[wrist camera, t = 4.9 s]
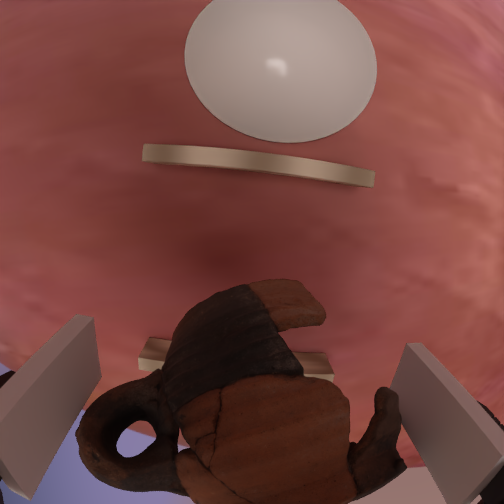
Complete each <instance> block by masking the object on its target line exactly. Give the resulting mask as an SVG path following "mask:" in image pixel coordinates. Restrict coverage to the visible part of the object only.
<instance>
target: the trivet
mask: <svg viewBox="0 0 504 504" xmlns="http://www.w3.org/2000/svg"><path fill="white" fill-rule="evenodd" d="M184 55H185V67H186V72H187V76H188V79H189V81H190V84H191V86H192V88H193V90H194V92H195V94H196V95H197V97H198V98H199V100H200V101H201V102H202V104H203V105H204V106H205V107H206V108H207V109H208V110H209V111H210V112H211V113H212V114H213V115H214V116H215V117H216V118H218V119H219V120H220V121H222V122H223V123H224V124H226V125H228V126H229V127H231V128H233V129H234V130H236V131H239V132H241V133H243V134H245V135H248V136H251V137H254V138H257V139H261V140H266V141H271V142H280V143H301V142H307V141H313V140H317V139H320V138H324V137H327V136H329V135H331V134H333V133H336V132H338V131H339V130H341V129H343V128H344V127H346V126H347V125H349V124H350V123H351V122H352V121H353V120H355V119H356V118H357V117H358V116H359V114H360V113H361V112H362V111H363V110H364V108H365V107H366V105H367V104H368V102H369V100H370V98H371V96H372V94H373V91H374V87H375V83H376V77H377V62H376V56H375V51H374V48H373V45H372V42H371V40H370V38H369V36H368V34H367V32H366V30H365V29H364V27H363V26H362V24H361V23H360V21H359V20H358V19H357V18H356V17H355V16H354V15H353V13H352V12H350V11H349V10H348V9H347V8H346V7H345V6H344V5H342V4H341V3H340V2H338V1H337V0H213V1H212V2H211V3H210V4H208V5H207V6H206V7H205V8H204V9H203V10H202V12H201V13H200V14H199V15H198V17H197V18H196V20H195V21H194V23H193V24H192V27H191V29H190V31H189V33H188V37H187V40H186V44H185V52H184Z"/></svg>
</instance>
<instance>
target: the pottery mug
mask: <svg viewBox="0 0 504 504" xmlns="http://www.w3.org/2000/svg"><path fill="white" fill-rule="evenodd" d="M325 318H326V312H325V310H324V308H323V307H322V305H321V304H320V303H319V302H318V301H317V300H316V299H315V298H314V297H313V296H312V295H311V293H310V292H309V291H308V290H306V288H305V287H304V285H303V284H302V283H301V282H299V281H297V280H288V279H275V280H270V279H269V280H263V281H258V282H252V283H250V284H243V285H239V286H236V287H233V288H230V289H228V290H225V291H222V292H218V293H215V294H214V295H212V296H211V297H209V298H208V299H206V300H204V301H202V302H200V303H198V304H197V305H196V306H194V307H193V308H191V309H190V310H189V311H188V312H187V313H186V314H185V316H184V317H183V319H182V320H181V321H180V322H179V324H178V326H177V327H176V329H175V331H174V333H173V337H172V342H171V344H170V347H169V350H168V352H167V354H166V358H165V363H164V364H163V365H162V368H161V369H159V368H158V369H156V370H155V371H153V372H152V373H151V374H150V375H149V376H147V377H145V378H142V379H139V380H134V381H131V382H128V383H125V384H122V385H119V386H117V387H115V388H113V389H111V390H109V391H107V392H106V393H104V394H102V395H101V396H100V397H98V398H97V399H96V400H95V401H94V402H93V403H92V404H91V405H90V406H89V408H88V409H87V410H86V412H85V413H84V415H83V416H82V419H81V421H80V425H79V427H78V429H77V430H76V432H75V436H76V437H77V438H76V439H77V442H78V445H79V455H80V457H81V460H82V462H83V464H84V465H85V466H86V468H87V469H88V470H89V471H90V472H91V473H92V474H93V476H95V478H97V479H98V480H100V481H102V482H104V483H106V484H108V485H110V486H112V487H115V488H118V489H122V490H127V491H133V492H147V491H167V492H172V493H175V494H178V495H182V496H188V497H190V498H191V499H192V501H193V502H194V503H195V504H348V503H350V502H351V501H354V500H358V499H360V498H362V497H365V496H367V495H369V494H371V493H373V492H374V491H376V490H378V489H380V488H381V487H383V486H385V485H386V484H387V483H389V482H390V481H392V480H393V479H395V478H396V477H397V476H399V475H400V474H401V473H403V472H404V471H405V470H406V469H407V466H406V465H405V463H404V460H403V459H402V458H401V457H400V455H399V453H398V451H397V450H396V443H397V439H398V436H399V433H400V430H401V421H402V417H401V414H400V412H399V396H398V394H397V393H396V392H394V391H393V390H391V389H389V388H387V387H381V388H379V389H378V390H377V392H376V394H375V398H374V403H375V405H374V407H375V414H374V415H373V417H372V418H371V421H370V423H369V426H368V428H367V430H366V432H365V434H364V435H363V437H362V438H361V440H360V441H359V442H358V443H357V444H356V443H355V442H349V433H350V404H349V400H348V399H347V397H345V396H344V395H343V393H342V392H341V390H340V389H339V388H338V387H337V386H336V385H334V384H333V383H332V382H331V381H329V380H326V379H321V378H316V377H306V376H304V368H303V367H302V365H301V364H300V362H299V361H298V359H297V358H296V357H295V355H294V354H293V353H292V351H291V350H290V349H289V348H288V346H287V345H286V343H285V341H284V340H283V338H282V337H281V336H280V335H279V334H278V332H282V331H286V330H288V329H290V328H299V327H306V326H320V325H322V324H323V322H324V321H325ZM139 420H141V421H147V422H149V423H150V424H151V425H152V427H153V429H154V431H155V433H156V435H157V437H156V440H155V441H154V442H153V443H152V444H151V445H150V446H148V447H147V449H145V450H144V451H143V452H142V453H140V454H139V455H136V456H134V457H127V458H126V457H123V456H122V455H121V454H119V453H118V451H117V447H116V444H117V441H118V438H119V437H120V435H121V433H122V432H123V431H124V430H125V429H126V428H127V427H128V426H130V425H131V424H133V423H134V422H136V421H139ZM179 427H180V429H181V432H182V435H183V437H184V439H185V440H186V442H187V443H188V444H189V445H190V448H187V449H183V450H181V451H180V452H179V453H178V446H177V442H178V436H179Z"/></svg>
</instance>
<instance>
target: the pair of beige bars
mask: <svg viewBox="0 0 504 504" xmlns="http://www.w3.org/2000/svg"><path fill="white" fill-rule="evenodd" d="M142 161H144V162H149V163H155V164H170V165H185V166H199V167H211V168H222V169H233V170H242V171H252V172H260V173H269V174H277V175H285V176H292V177H299V178H306V179H313V180H319V181H326V182H332V183H338V184H344V185H350V186H355V187H369V188H373V186H374V178H375V171H372V170H368V169H363V168H358V167H353V166H347V165H342V164H336V163H331V162H325V161H319V160H313V159H307V158H300V157H293V156H286V155H279V154H271V153H263V152H254V151H245V150H236V149H225V148H214V147H201V146H185V145H166V144H144V146H143V154H142ZM171 342H172V341H170V340H163V339H156V338H150V337H149V339H148V341H147V342H146V344H145V346H144V348H143V350H142V351H141V353H140V355H139V357H138V361H139V369H140V370H146V371H152V372H153V371H155V370H156V369H158V368H159V369H161V368H162V365H163V364H164V363H165V358H166V354H167V352H168V350H169V347H170V344H171ZM292 353H293V354H294V355H295V357H296V358H297V359H298V361H299V362H300V364H301V365H302V367H303V368H304V376H306V377H316V378H321V379H326V380H329V381H331V382H333V378H334V375H335V374H334V372H333V370H332V367H331V365H330V363H329V361H328V359H327V357H326V354H325V353H301V352H292Z"/></svg>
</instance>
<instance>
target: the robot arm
mask: <svg viewBox="0 0 504 504" xmlns="http://www.w3.org/2000/svg"><path fill="white" fill-rule="evenodd" d="M101 377H102V376H101V370H100V364H99V357H98V350H97V342H96V334H95V325H94V317H89V316H84V315H79V314H76V315H75V316H74V317H73V318H72V319H71V320H69V321H68V322H67V323H66V324H65V325H64V326H63V327H62V328H61V329H60V330H59V331H58V332H57V333H56V334H54V335H53V336H52V337H51V338H50V339H49V340H48V341H47V342H46V343H45V344H44V345H43V346H42V347H41V348H40V349H39V350H38V351H37V352H36V353H35V354H34V355H33V356H32V357H31V358H30V359H29V360H28V361H27V362H26V363H25V364H24V365H23V366H22V367H21V368H20V369H19V370H18V371H17V372H14V371H9V372H7V373H5V374H3V375H1V376H0V481H1V479H2V480H3V481H4V482H5V484H6V485H7V486H8V488H9V489H10V490H12V491H13V492H15V493H17V494H19V495H21V496H23V497H25V498H26V499H28V500H31V499H32V497H33V495H34V493H35V491H36V490H37V487H38V486H39V484H40V482H41V480H42V478H43V476H44V474H45V473H46V471H47V469H48V467H49V465H50V463H51V461H52V460H53V458H54V456H55V454H56V453H57V451H58V449H59V447H60V446H61V444H62V442H63V440H64V439H65V437H66V435H67V433H68V431H69V430H70V428H71V426H72V425H73V423H74V421H75V420H76V418H77V416H78V415H79V413H80V411H81V410H82V408H83V406H84V405H85V403H86V401H87V400H88V398H89V397H90V395H91V393H92V392H93V390H94V389H95V387H96V385H97V384H98V382H99V381H100V379H101ZM389 389H391V390H393V391H394V392H396V393H397V394H398V396H399V412H400V414H401V417H402V421H401V423H402V425H403V427H404V428H405V430H406V432H407V433H408V435H409V437H410V439H411V440H412V442H413V444H414V445H415V447H416V449H417V451H418V452H419V454H420V456H421V458H422V459H423V461H424V463H425V465H426V466H427V468H428V470H429V472H430V473H431V475H432V477H433V479H434V481H435V482H436V484H437V486H438V488H439V490H440V491H441V493H442V495H443V497H444V499H445V501H446V502H447V504H470V503H471V502H472V501H473V500H474V499H475V498H476V497H477V496H478V495H479V494H480V496H481V497H482V499H481V500H480V501H479V502H478V503H477V504H504V426H503V425H502V424H500V421H499V420H498V419H497V418H496V417H494V414H493V413H492V412H491V411H490V410H489V409H488V408H487V407H486V406H484V405H483V404H481V403H480V402H478V401H477V400H475V399H474V398H473V397H472V395H471V394H470V393H469V392H468V391H467V390H466V389H465V388H464V387H463V386H462V385H461V384H460V383H459V381H458V380H457V379H456V378H455V377H454V376H453V375H452V374H451V373H450V372H449V371H448V370H447V369H446V368H445V367H444V366H443V365H442V364H441V363H440V362H439V361H438V360H437V358H436V357H435V356H434V355H433V354H432V353H431V352H430V351H429V350H428V349H427V348H426V347H425V346H424V345H423V344H422V343H406V346H405V349H404V352H403V354H402V357H401V360H400V363H399V365H398V368H397V371H396V373H395V376H394V378H393V381H392V384H391V386H390V388H389ZM0 504H4V501H3V496H2V492H1V489H0Z"/></svg>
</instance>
